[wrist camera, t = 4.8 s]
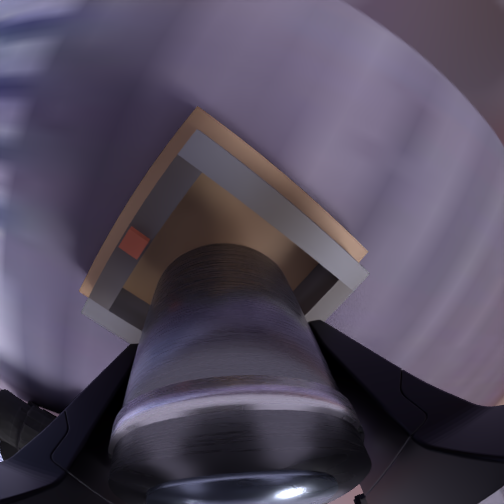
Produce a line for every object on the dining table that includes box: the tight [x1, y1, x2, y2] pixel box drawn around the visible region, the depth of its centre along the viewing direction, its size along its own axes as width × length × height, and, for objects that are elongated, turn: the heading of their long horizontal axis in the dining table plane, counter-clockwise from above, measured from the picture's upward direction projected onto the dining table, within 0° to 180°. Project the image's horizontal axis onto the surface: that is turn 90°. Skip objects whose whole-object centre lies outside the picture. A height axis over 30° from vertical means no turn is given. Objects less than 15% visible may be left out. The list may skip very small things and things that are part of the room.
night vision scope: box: [0, 389, 57, 461], centre depth 15 cm, size 8×18×10 cm
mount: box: [79, 106, 369, 344], centre depth 12 cm, size 10×10×4 cm
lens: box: [108, 243, 372, 504], centre depth 7 cm, size 5×5×7 cm
